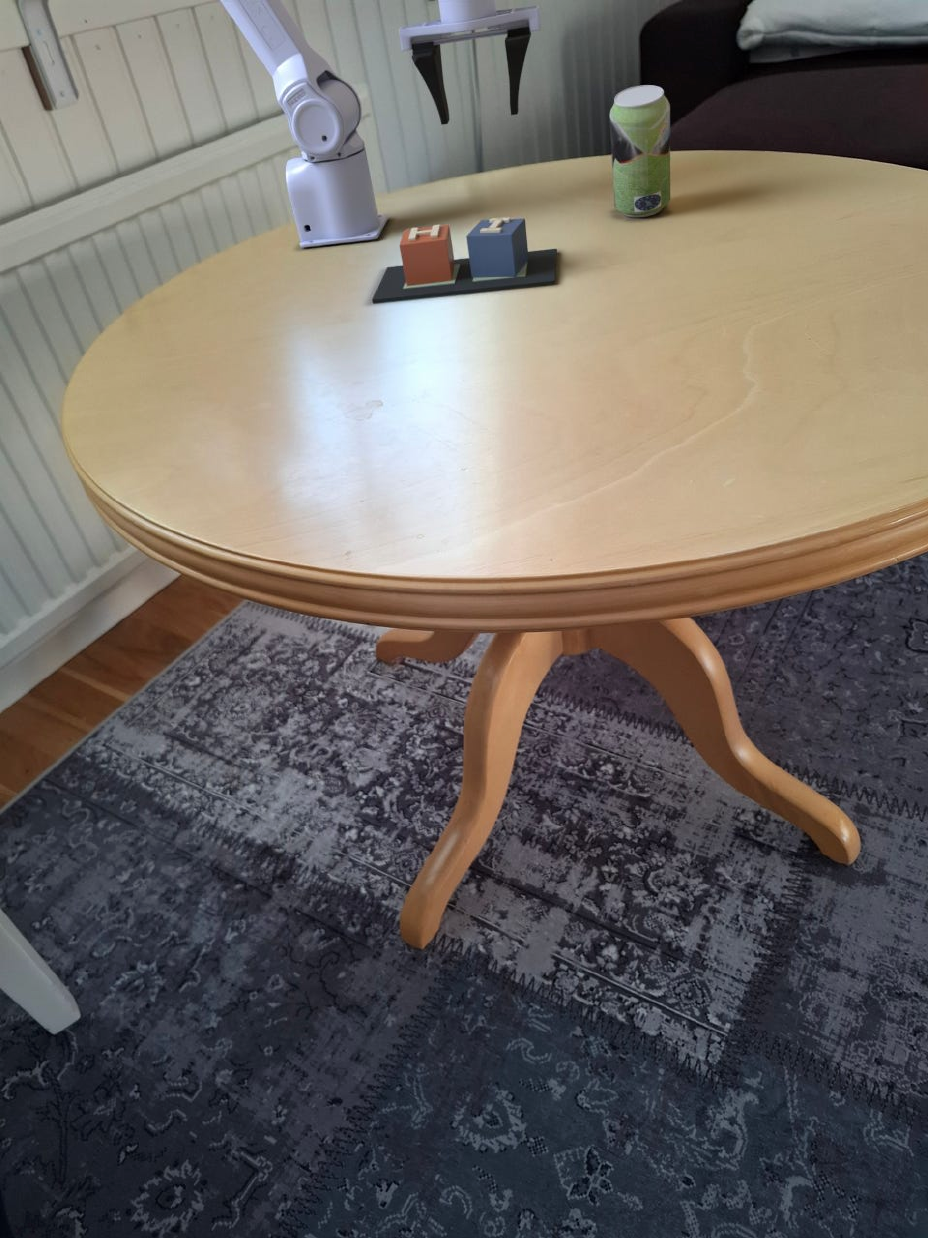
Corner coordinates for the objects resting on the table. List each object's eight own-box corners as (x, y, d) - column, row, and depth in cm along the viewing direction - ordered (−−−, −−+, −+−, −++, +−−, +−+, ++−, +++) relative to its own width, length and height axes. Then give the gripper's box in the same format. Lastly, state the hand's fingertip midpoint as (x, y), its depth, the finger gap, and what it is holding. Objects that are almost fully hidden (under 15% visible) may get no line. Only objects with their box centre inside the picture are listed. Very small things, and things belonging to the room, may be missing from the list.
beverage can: (668, 199, 99) (669, 76, 91) (673, 220, 94) (675, 91, 86) (611, 206, 100) (607, 85, 92) (613, 227, 95) (609, 100, 87)
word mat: (372, 303, 88) (371, 298, 87) (387, 270, 94) (386, 265, 94) (555, 284, 85) (554, 279, 84) (557, 252, 91) (556, 247, 91)
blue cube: (471, 277, 88) (465, 232, 85) (485, 260, 91) (480, 216, 88) (515, 276, 86) (511, 230, 83) (528, 259, 89) (524, 214, 87)
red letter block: (406, 285, 88) (398, 241, 86) (411, 269, 92) (403, 226, 89) (452, 280, 88) (445, 235, 85) (455, 264, 91) (448, 220, 89)
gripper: (536, -52, 90) (547, 100, 99) (397, -28, 92) (420, 117, 101) (533, -45, 85) (545, 114, 93) (386, -21, 87) (411, 132, 96)
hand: (479, 117), depth 97 cm, fingers open, 7 cm apart
